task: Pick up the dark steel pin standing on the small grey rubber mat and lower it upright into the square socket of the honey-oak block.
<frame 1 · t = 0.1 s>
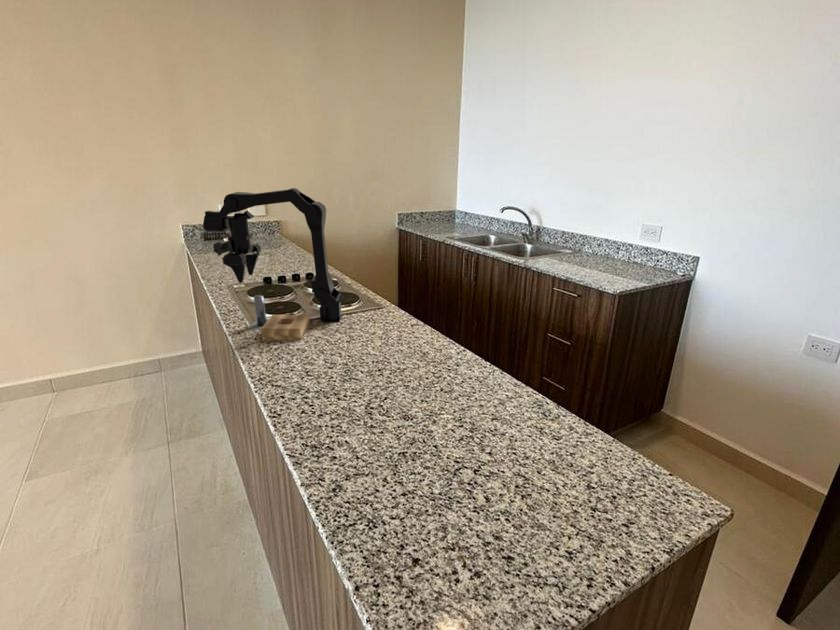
hand: (245, 278, 156), 14 cm above the worktop, fingers open, 9 cm apart
mat: (262, 325, 155), on the worktop
pin: (262, 324, 154), resting on mat
socket block: (287, 332, 149), on the worktop
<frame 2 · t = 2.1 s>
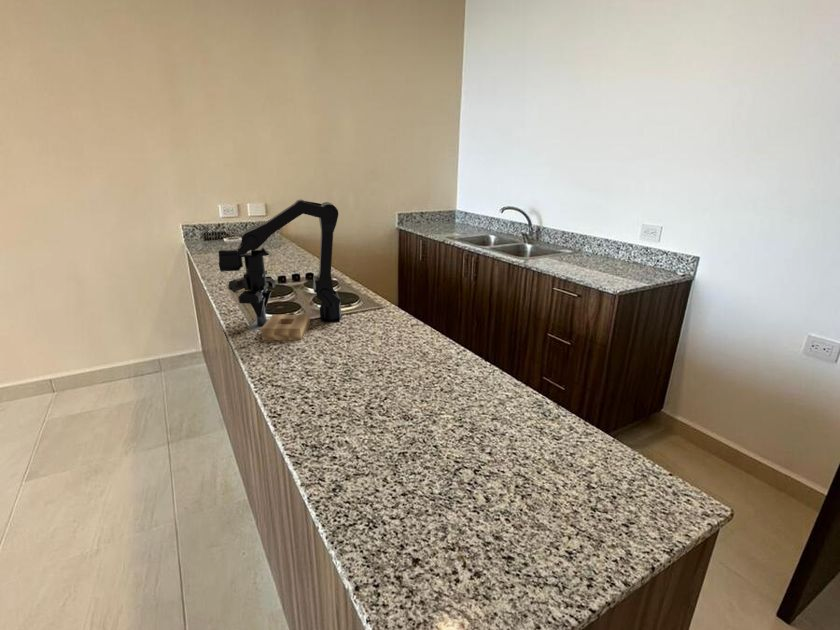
hand: (260, 315, 153), 4 cm above the worktop, fingers closed on pin, 3 cm apart
pin: (262, 324, 154), resting on mat, touching gripper
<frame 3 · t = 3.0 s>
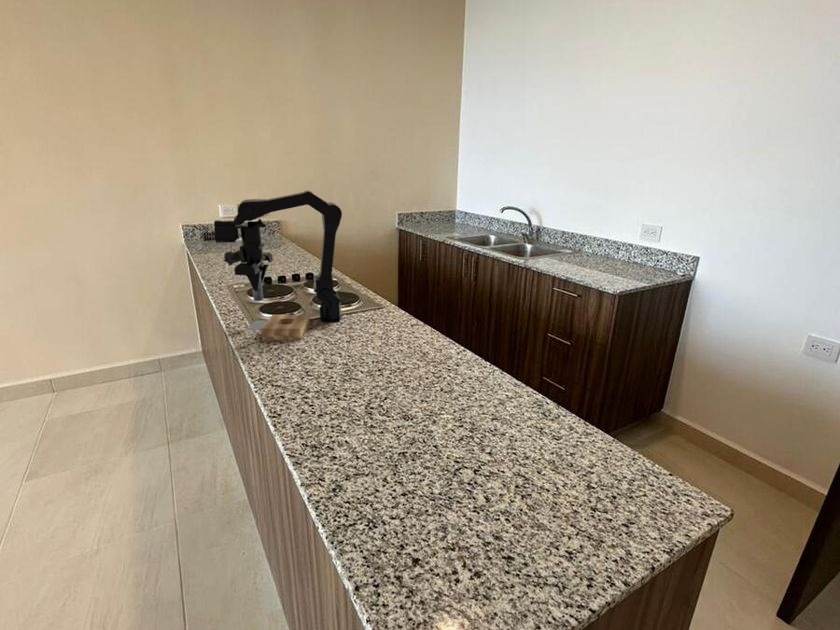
hand: (257, 289, 150), 13 cm above the worktop, fingers closed on pin, 3 cm apart
pin: (258, 299, 151), point 9 cm above the worktop, touching gripper
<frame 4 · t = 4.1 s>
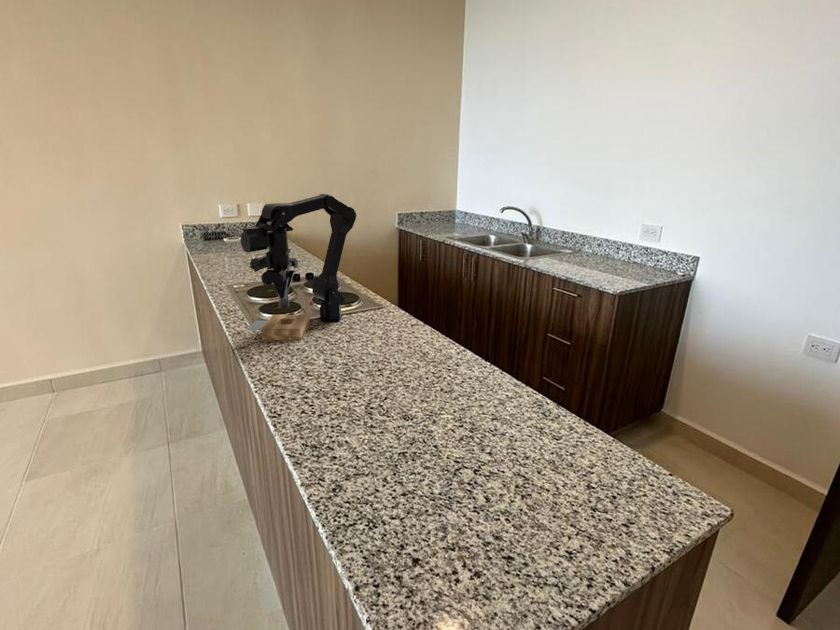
hand: (283, 296, 145), 12 cm above the worktop, fingers closed on pin, 3 cm apart
pin: (284, 306, 146), point 9 cm above the worktop, touching gripper
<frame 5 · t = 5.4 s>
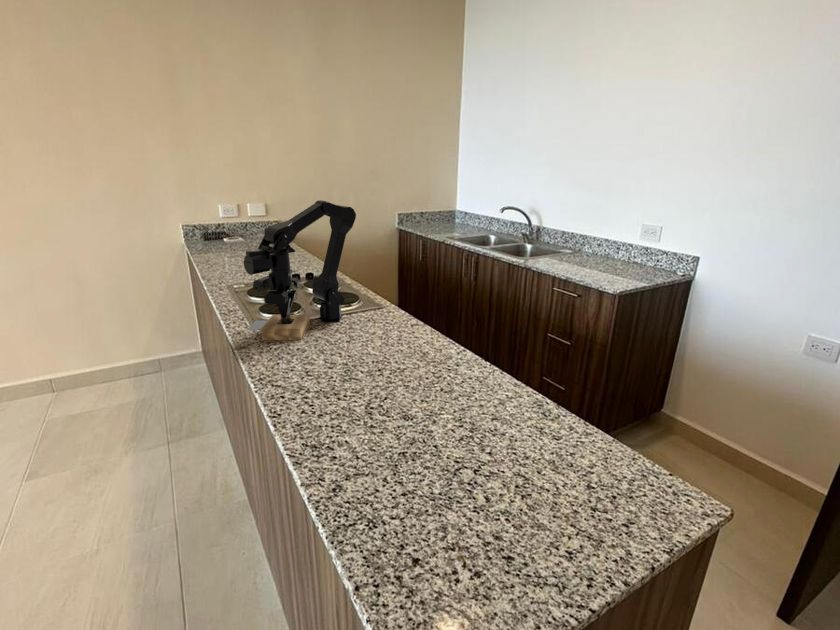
hand: (285, 315, 147), 6 cm above the worktop, fingers closed on pin, 3 cm apart
pin: (286, 326, 148), point 2 cm above the worktop, touching gripper
when the fingers open (5 cm above the worktop, at t = 6.2 s): pin drops 2 cm, resting in socket block.
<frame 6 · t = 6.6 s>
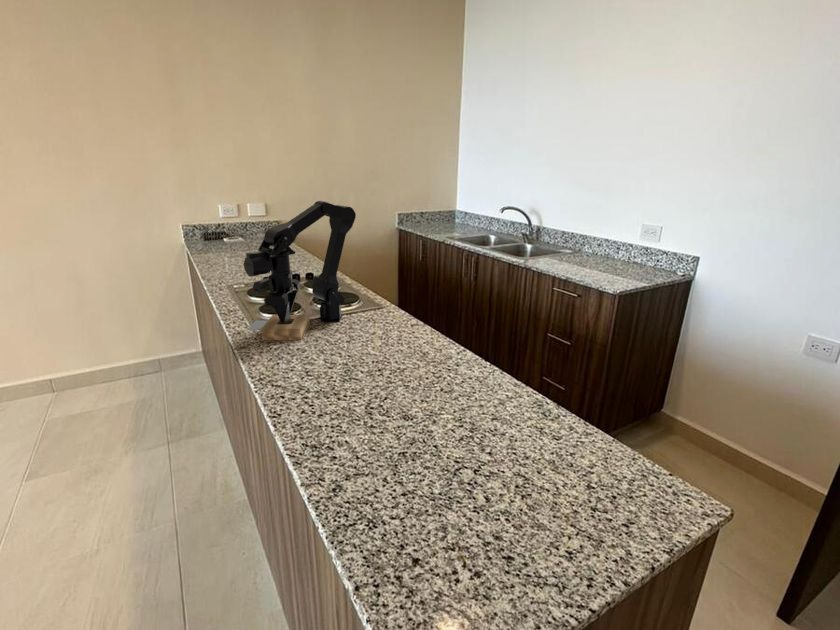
hand: (285, 317, 147), 5 cm above the worktop, fingers open, 7 cm apart
pin: (287, 332, 149), resting in socket block
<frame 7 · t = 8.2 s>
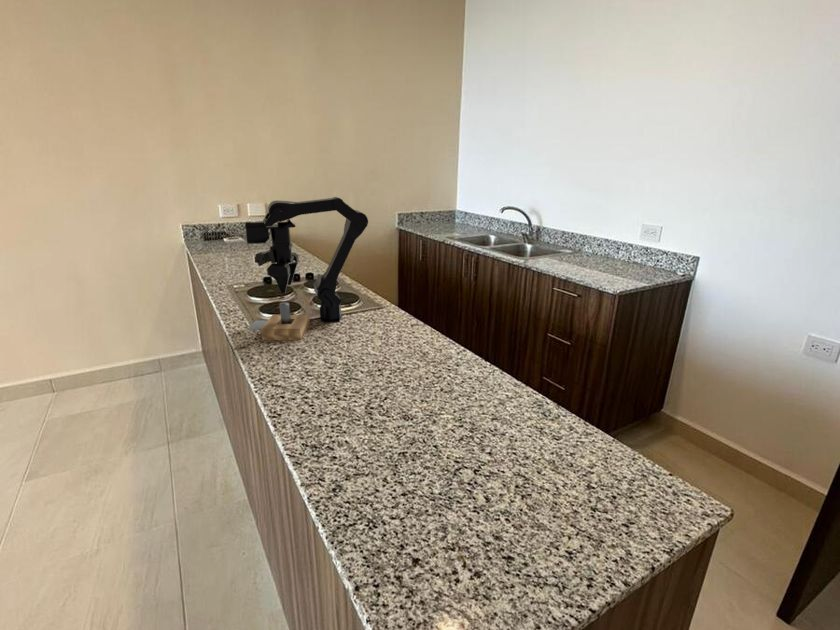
hand: (286, 288, 152), 12 cm above the worktop, fingers open, 9 cm apart
nothing on the worktop moved.
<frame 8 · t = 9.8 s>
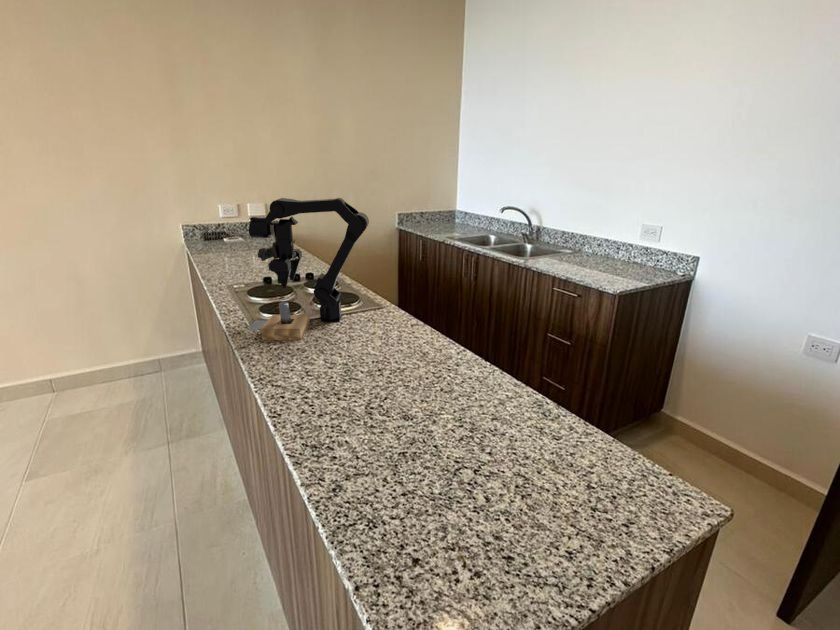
hand: (288, 284, 157), 12 cm above the worktop, fingers open, 9 cm apart
nothing on the worktop moved.
at the end: pin 0.1 cm off-centre on the socket block, point 0.0 cm above the socket block's base; pin tilted 1°; the gripper is holding nothing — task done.
